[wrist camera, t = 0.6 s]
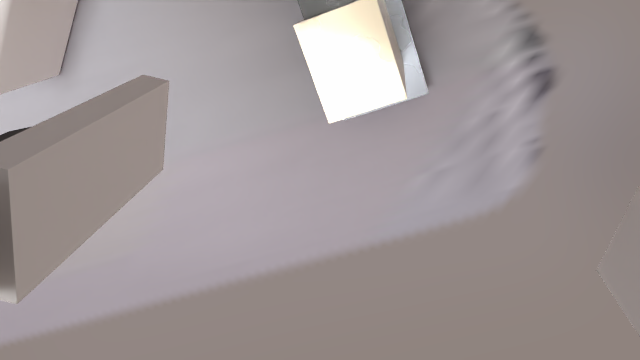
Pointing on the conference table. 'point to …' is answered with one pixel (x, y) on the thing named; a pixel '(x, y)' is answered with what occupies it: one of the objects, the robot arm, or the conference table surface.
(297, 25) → the rail
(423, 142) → the conference table surface
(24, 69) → the container
